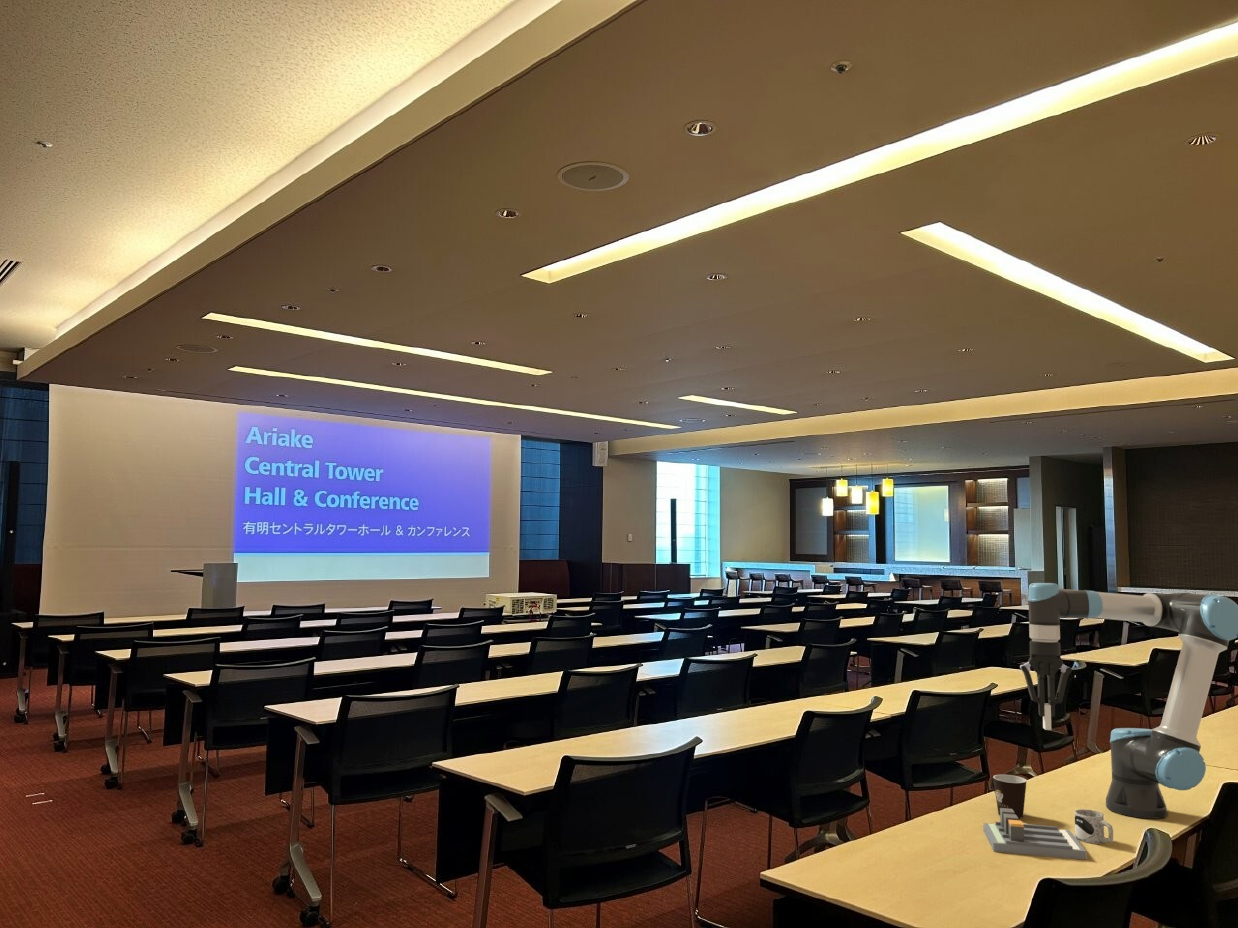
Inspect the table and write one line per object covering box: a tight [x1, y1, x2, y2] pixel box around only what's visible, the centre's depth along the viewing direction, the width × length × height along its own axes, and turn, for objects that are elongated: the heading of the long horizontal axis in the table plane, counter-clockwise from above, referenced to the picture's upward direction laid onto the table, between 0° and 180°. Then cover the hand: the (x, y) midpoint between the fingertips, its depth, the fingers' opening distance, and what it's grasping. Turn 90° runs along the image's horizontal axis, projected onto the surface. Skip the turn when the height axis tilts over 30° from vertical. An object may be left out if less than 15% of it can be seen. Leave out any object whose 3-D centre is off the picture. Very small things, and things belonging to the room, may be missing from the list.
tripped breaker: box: [1008, 819, 1025, 842], centre depth 221 cm, size 3×3×5 cm
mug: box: [1074, 808, 1114, 845], centre depth 228 cm, size 10×7×7 cm
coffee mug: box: [990, 774, 1027, 820], centre depth 251 cm, size 12×9×10 cm
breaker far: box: [999, 808, 1015, 828], centre depth 231 cm, size 3×3×5 cm
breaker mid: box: [1003, 814, 1019, 834], centre depth 226 cm, size 3×3×5 cm
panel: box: [982, 821, 1088, 861], centre depth 225 cm, size 21×16×3 cm
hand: (1047, 728), depth 239 cm, fingers closed
